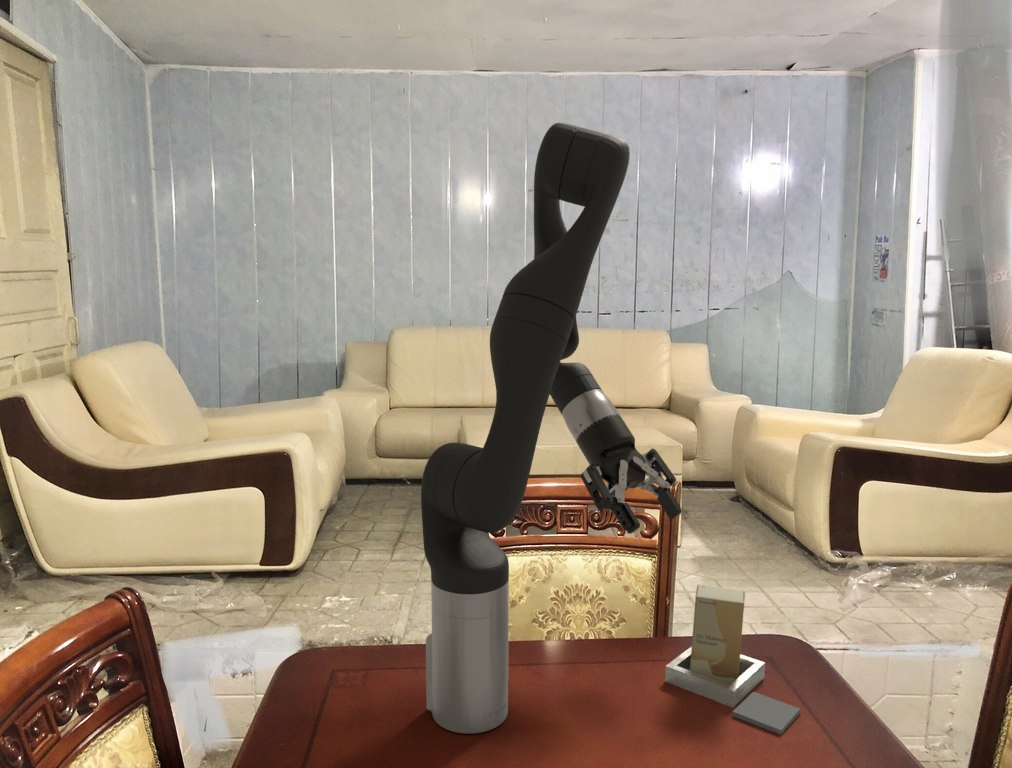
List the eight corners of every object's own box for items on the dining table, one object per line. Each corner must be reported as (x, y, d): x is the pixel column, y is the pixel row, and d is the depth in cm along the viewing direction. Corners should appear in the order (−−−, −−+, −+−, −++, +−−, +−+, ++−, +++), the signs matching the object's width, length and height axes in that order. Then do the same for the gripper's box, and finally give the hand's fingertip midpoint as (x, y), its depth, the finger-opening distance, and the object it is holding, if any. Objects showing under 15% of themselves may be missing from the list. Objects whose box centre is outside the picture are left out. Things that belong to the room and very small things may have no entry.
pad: (732, 715, 98) (732, 711, 98) (753, 696, 102) (753, 691, 102) (780, 734, 94) (781, 730, 94) (800, 713, 99) (800, 708, 98)
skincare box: (688, 684, 105) (692, 595, 103) (691, 668, 109) (694, 582, 107) (740, 692, 103) (744, 602, 101) (740, 675, 107) (745, 588, 106)
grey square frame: (665, 681, 106) (665, 665, 105) (698, 655, 113) (699, 640, 113) (733, 707, 100) (733, 691, 99) (764, 678, 107) (765, 662, 106)
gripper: (574, 420, 111) (635, 521, 104) (644, 405, 119) (705, 498, 113) (549, 450, 116) (606, 548, 109) (618, 434, 124) (674, 524, 118)
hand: (656, 523), depth 111 cm, fingers open, 8 cm apart
